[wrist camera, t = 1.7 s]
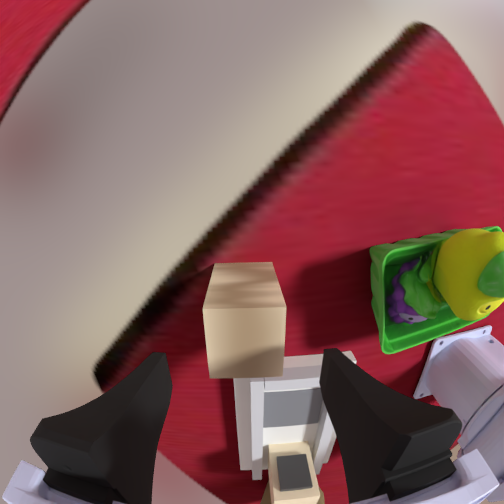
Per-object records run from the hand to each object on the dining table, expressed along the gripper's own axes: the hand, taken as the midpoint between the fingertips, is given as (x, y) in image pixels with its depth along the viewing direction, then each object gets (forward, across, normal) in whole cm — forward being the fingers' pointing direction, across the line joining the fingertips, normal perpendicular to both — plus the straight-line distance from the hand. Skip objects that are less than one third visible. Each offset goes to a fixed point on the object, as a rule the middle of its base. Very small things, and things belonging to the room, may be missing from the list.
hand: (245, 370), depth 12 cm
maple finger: (+9, 0, 0) cm, 9 cm away
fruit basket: (+9, -14, -2) cm, 17 cm away
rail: (+9, -4, +14) cm, 17 cm away
